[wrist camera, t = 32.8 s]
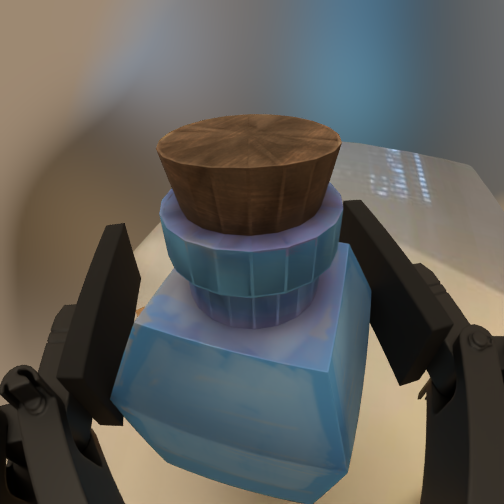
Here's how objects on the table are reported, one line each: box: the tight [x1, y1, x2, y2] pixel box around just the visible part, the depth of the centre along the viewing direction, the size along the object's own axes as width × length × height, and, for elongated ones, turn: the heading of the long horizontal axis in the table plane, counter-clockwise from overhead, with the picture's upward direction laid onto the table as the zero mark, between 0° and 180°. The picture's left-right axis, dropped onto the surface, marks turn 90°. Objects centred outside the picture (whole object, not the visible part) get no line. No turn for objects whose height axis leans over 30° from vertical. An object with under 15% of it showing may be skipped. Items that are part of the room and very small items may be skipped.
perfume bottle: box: [110, 114, 371, 504], centre depth 9 cm, size 6×6×12 cm
